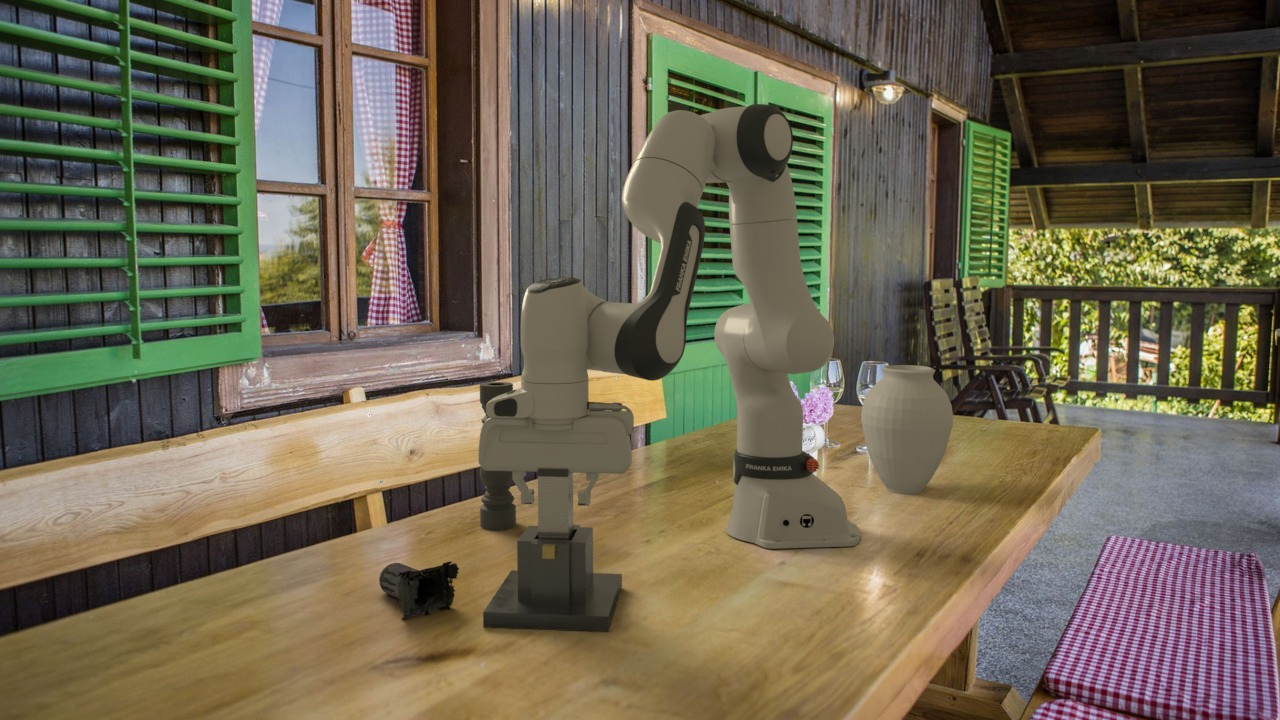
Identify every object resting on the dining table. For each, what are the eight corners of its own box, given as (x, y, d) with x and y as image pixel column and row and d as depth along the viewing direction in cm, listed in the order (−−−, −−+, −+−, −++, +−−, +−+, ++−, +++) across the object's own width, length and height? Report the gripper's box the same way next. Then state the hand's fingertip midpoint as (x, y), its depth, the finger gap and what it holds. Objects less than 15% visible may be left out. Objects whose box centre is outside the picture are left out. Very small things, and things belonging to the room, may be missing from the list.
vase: (852, 495, 186) (856, 370, 183) (866, 476, 202) (869, 361, 199) (946, 504, 179) (951, 374, 176) (953, 483, 195) (957, 364, 193)
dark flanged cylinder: (454, 619, 126) (410, 599, 135) (461, 561, 126) (417, 545, 135) (393, 624, 120) (351, 603, 129) (401, 563, 120) (358, 546, 129)
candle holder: (509, 531, 161) (507, 387, 158) (475, 529, 162) (472, 386, 160) (520, 521, 167) (519, 382, 164) (487, 519, 168) (485, 381, 166)
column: (574, 584, 128) (574, 462, 126) (569, 596, 124) (568, 469, 122) (543, 583, 129) (542, 462, 127) (537, 594, 124) (536, 469, 122)
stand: (621, 587, 134) (621, 519, 133) (608, 631, 118) (608, 554, 117) (511, 583, 135) (510, 516, 134) (483, 627, 119) (482, 550, 118)
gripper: (635, 399, 126) (635, 499, 127) (486, 396, 127) (487, 496, 129) (631, 406, 119) (631, 512, 121) (473, 404, 121) (475, 508, 123)
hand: (556, 504), depth 125 cm, fingers open, 6 cm apart
